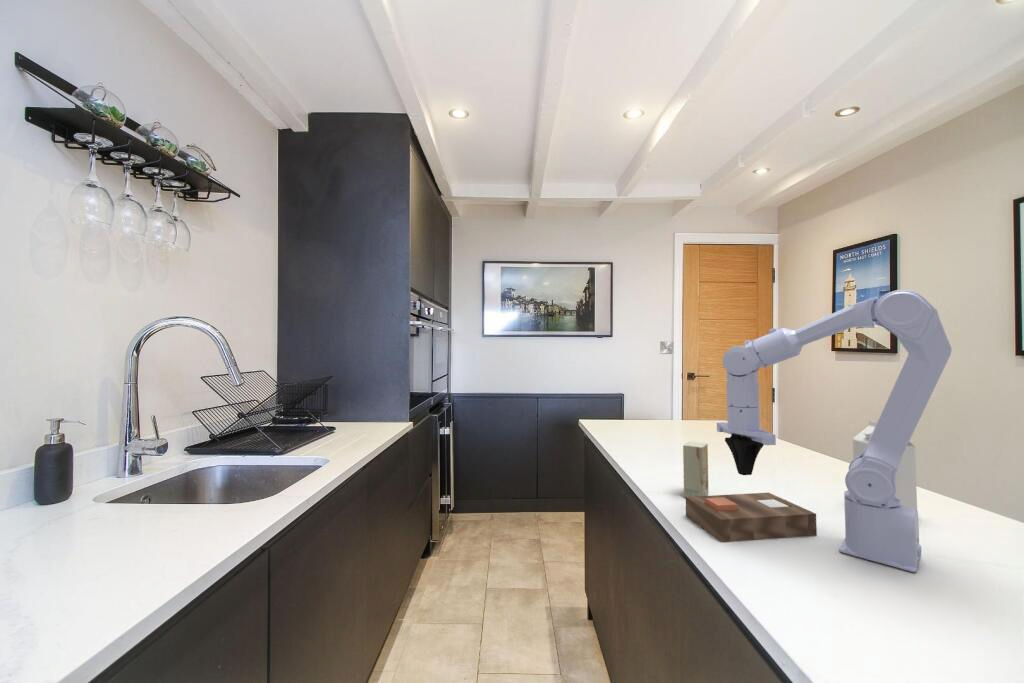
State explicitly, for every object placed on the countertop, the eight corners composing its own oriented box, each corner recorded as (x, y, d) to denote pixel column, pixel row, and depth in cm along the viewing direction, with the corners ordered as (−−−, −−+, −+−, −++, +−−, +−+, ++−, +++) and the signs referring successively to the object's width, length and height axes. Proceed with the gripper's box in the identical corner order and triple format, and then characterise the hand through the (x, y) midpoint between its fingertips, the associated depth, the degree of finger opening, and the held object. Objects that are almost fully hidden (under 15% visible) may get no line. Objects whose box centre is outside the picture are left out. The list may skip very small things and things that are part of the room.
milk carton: (889, 508, 91) (886, 420, 91) (918, 521, 84) (914, 426, 84) (854, 507, 91) (851, 420, 92) (879, 520, 84) (876, 425, 85)
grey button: (774, 519, 85) (774, 499, 85) (789, 527, 81) (789, 506, 81) (756, 520, 85) (756, 500, 85) (771, 528, 81) (770, 507, 81)
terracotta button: (724, 517, 84) (724, 497, 84) (737, 525, 80) (737, 504, 80) (706, 518, 83) (705, 498, 83) (718, 526, 79) (717, 505, 79)
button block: (769, 511, 89) (768, 492, 89) (816, 535, 77) (816, 513, 78) (685, 516, 87) (685, 496, 87) (721, 542, 75) (721, 519, 75)
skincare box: (703, 501, 96) (701, 447, 96) (683, 497, 98) (682, 445, 99) (709, 493, 101) (708, 442, 101) (690, 490, 104) (689, 440, 104)
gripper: (703, 402, 91) (704, 465, 90) (750, 411, 76) (752, 486, 76) (732, 401, 92) (734, 464, 91) (784, 410, 77) (787, 484, 77)
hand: (745, 474), depth 84 cm, fingers closed
